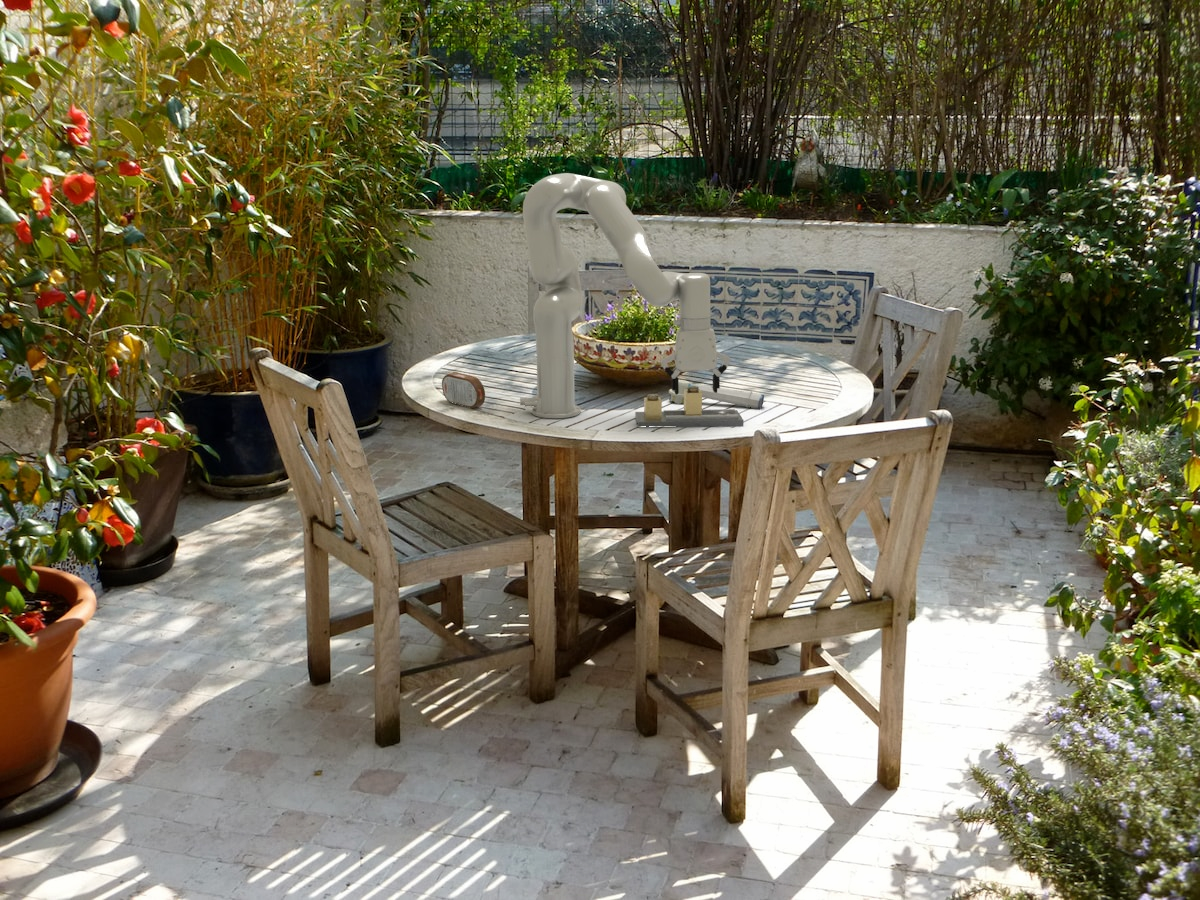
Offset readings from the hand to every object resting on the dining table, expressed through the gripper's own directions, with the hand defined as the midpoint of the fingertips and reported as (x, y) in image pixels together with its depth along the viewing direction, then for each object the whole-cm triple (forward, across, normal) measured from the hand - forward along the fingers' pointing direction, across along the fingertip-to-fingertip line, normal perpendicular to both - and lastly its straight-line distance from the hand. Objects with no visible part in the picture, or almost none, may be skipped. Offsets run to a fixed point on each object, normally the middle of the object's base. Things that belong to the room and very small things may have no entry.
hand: (695, 392), depth 293 cm
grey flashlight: (+8, +7, +18) cm, 21 cm away
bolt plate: (+8, -2, 0) cm, 8 cm away
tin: (+6, -59, +21) cm, 63 cm away
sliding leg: (+6, -1, 0) cm, 6 cm away
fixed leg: (+6, -11, 0) cm, 12 cm away
